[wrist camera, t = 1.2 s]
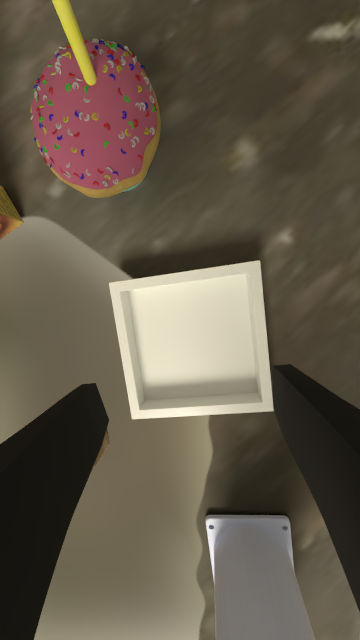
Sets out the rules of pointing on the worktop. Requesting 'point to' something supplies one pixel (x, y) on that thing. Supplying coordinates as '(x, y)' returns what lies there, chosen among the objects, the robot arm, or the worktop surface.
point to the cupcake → (95, 114)
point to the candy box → (8, 214)
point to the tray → (194, 342)
